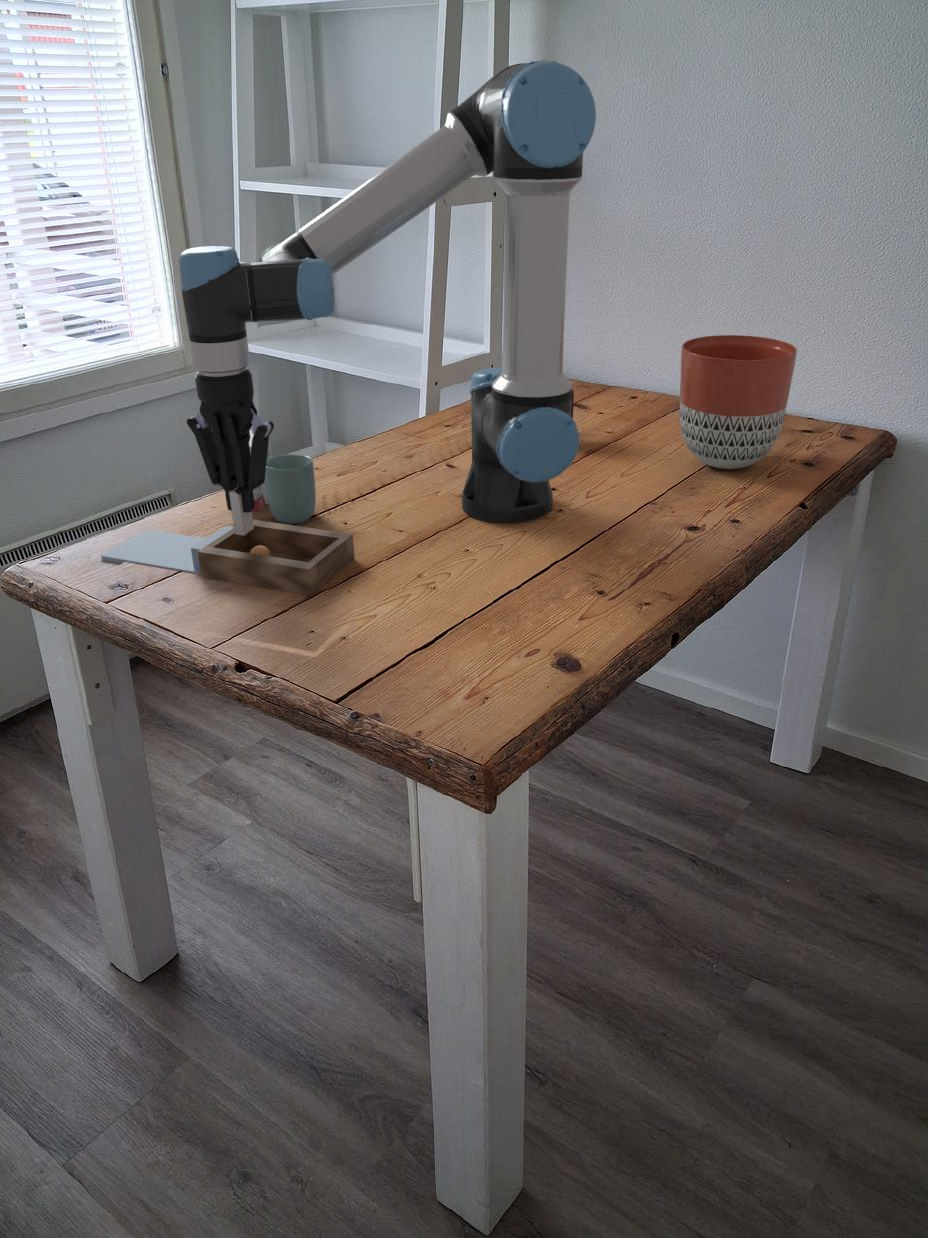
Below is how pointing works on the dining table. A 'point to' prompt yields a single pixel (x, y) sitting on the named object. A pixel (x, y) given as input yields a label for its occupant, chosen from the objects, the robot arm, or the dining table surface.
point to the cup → (290, 488)
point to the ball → (261, 550)
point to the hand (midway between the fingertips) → (244, 531)
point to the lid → (163, 550)
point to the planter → (734, 397)
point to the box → (278, 557)
